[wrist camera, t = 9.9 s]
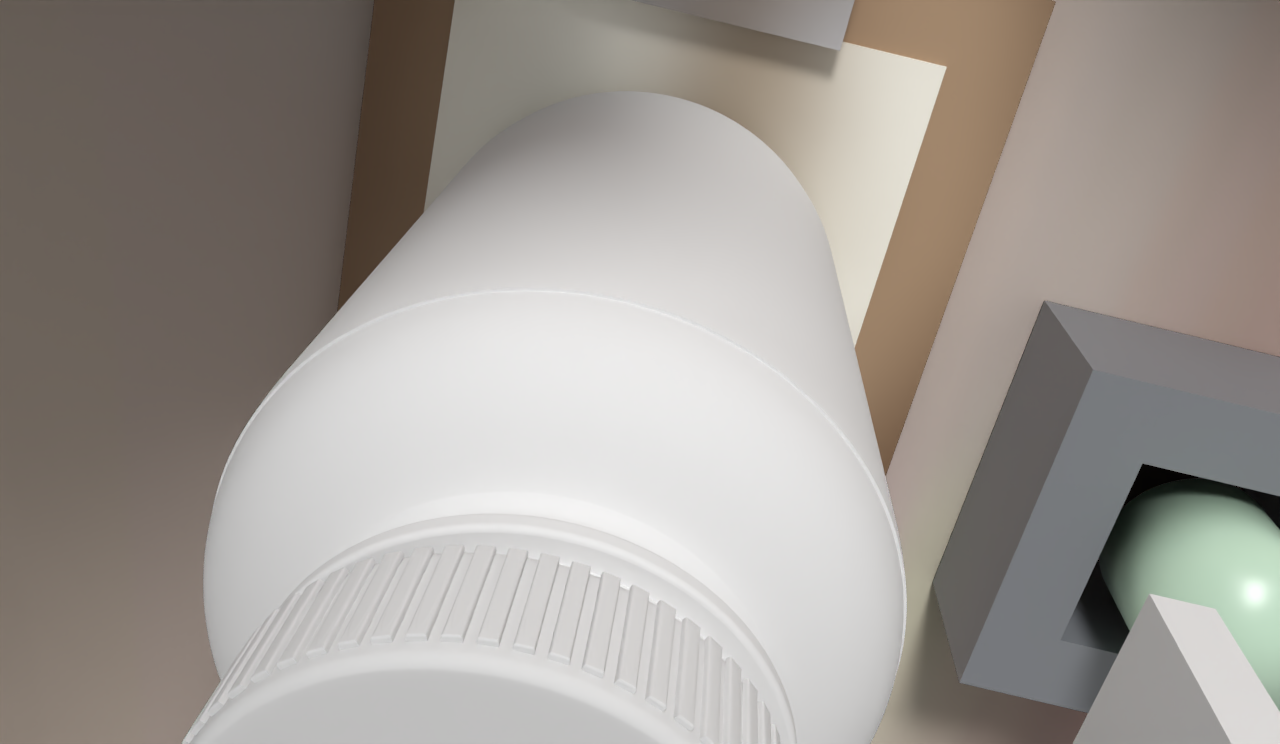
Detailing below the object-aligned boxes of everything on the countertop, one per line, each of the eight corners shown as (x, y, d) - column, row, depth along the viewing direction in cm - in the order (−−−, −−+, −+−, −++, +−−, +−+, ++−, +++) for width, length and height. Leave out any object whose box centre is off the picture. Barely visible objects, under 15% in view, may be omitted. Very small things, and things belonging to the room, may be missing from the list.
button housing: (932, 582, 26) (958, 682, 23) (1044, 300, 23) (1093, 369, 20) (1230, 652, 26) (1299, 762, 23) (1379, 380, 23) (1481, 462, 20)
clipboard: (322, 496, 26) (304, 522, 25) (402, -159, 20) (383, -162, 19) (828, 615, 26) (831, 647, 25) (1047, -2, 21) (1064, 5, 20)
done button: (1073, 597, 23) (1128, 717, 20) (1137, 461, 21) (1206, 564, 18) (1228, 634, 23) (1307, 758, 20) (1301, 500, 21) (1398, 609, 18)
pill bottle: (397, 397, 24) (-44, 1086, 10) (491, 25, 21) (32, 316, 7) (750, 509, 25) (771, 1310, 11) (896, 161, 21) (1186, 680, 8)
